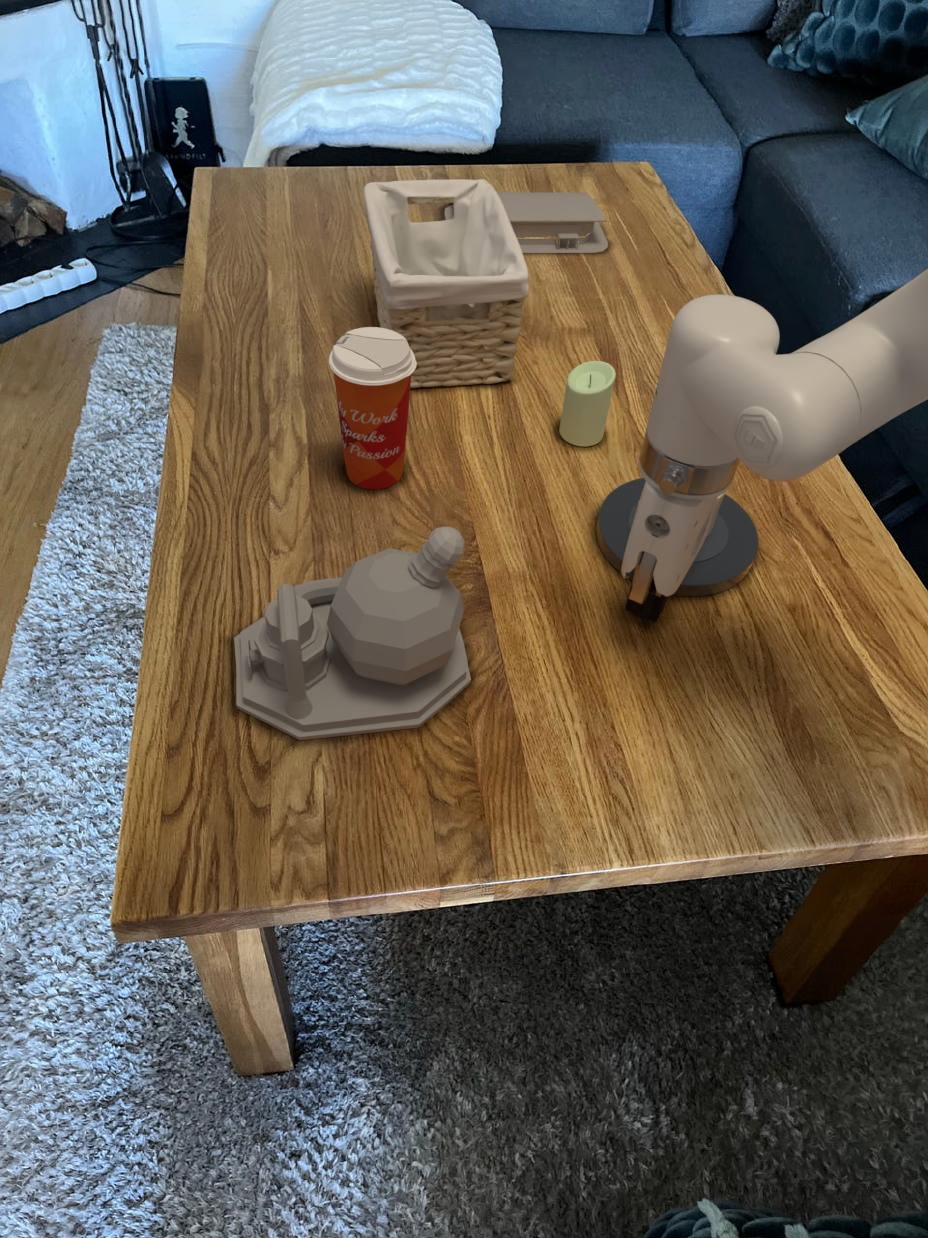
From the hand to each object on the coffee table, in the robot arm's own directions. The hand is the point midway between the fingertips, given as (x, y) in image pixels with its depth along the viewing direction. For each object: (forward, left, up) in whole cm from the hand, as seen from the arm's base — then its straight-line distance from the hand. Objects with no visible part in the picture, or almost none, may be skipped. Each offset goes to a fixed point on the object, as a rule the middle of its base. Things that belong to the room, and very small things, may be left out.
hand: (643, 611), depth 87 cm
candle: (+16, -22, -1) cm, 28 cm away
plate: (+1, -12, -1) cm, 12 cm away
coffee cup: (+32, -4, -1) cm, 32 cm away
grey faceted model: (+20, +19, -1) cm, 27 cm away
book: (+43, -63, -1) cm, 77 cm away
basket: (+39, -30, -1) cm, 50 cm away
